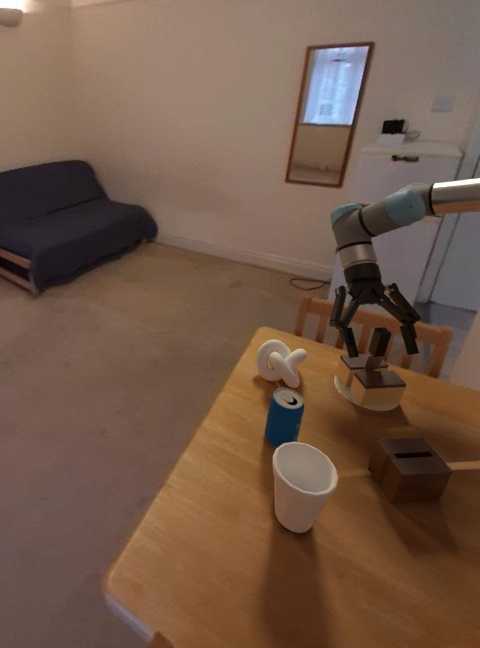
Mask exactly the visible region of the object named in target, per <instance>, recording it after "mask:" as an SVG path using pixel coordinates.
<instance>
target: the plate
mask: <svg viewBox="0 0 480 648" xmlns="http://www.w3.org/2000/svg"><path fill="white" fill-rule="evenodd" d="M333 382H334V386H335V388H336V390H337V391H338V393H339V394H341V395H342V397H344V398H345V399H346V400H347V401H349V402H351V403H352V404H353V405H354V404H355V405H356V406H359V407H360V408H361V407H362V408H364V409H367V410H372V411H380V412H386V411H391V410H394V409H395V408H397V407H398V406H399V405H400V404H390V405H373V406H360V405H359V404H358V402H357V401H356V400H355V399H354V397H353V396H352V395H351V393H350V392H349V391H350V388H351V386H350V387H345V385H344V384H343V383H342V381H341V380H340V379H339V377H338V376H337V375H336V374H335V375H334V377H333Z"/></svg>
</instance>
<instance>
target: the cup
mask: <svg viewBox="0 0 480 648" xmlns="http://www.w3.org/2000/svg"><path fill="white" fill-rule="evenodd" d="M275 448H276V447H275ZM272 472H273V476H274V479H273V480H274V514H275V516H276V518H277V521H278V522H279V523H280V524H281V525H282V526H283V527H284V528H285V529H287V530H289V531H290V532H293V533H298V534H301V533H306V532H307V531H309V530H310V529H311V528H312V526H313V525H314V524H315V522H316V520H317V519H318V517H319V515H320V514H321V513H322V510H323V509H324V508H325V506H326V504H327V502H328V501H329V500H330V498H331V497H332V496H333V495H334V493H335V491H336V489H337V487H338V483H339V474H338V471H337V467H335V465H334V463H333V462H332V460H331V459H330V457H329V456H328V455H326V454H324V452H322V451H321V450H320V449H319V448H317V447H314V446H312V445H311V444H308V443H306V442H300V441H299V442H298V441H297V442H289V443H284V444H282V445H281V446H279V447H278V448H276V449H275V450H274V453H273V455H272Z"/></svg>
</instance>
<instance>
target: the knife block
mask: <svg viewBox="0 0 480 648" xmlns="http://www.w3.org/2000/svg"><path fill="white" fill-rule="evenodd" d="M366 468H367V470H368V471H369V474H371V476H372V477H373V479H374V480H375V482H376V484H377V485H378V487H379V488H380V490H381V492H382V493H383V494H384V496H385V497H386V499H387V501H388V502H389V504H390V505H401V504H414V503H416V504H417V503H418V504H419V503H429V502H430V503H432V502H440V501H441V498H442V496H443V494H444V493H445V489H446V488H447V486H448V484H449V482H450V480H451V478H452V476H453V473H454V471H453V470H452V468H451V467H449V465H448V464H447V463H446V462H445V460H444V459H443V458H442V457H441V456H440V455H439V453H438V452H437V451H436V450H435V449H434V448H433V447H432V445H431V444H430V443H429V442H428V441H427V439H425V437H424V436H411V437H394V438H378V439H376V440H375V443H374V446H373V449H372V452H371V455H370V458H369V460H368V464H367V466H366Z"/></svg>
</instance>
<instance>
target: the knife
mask: <svg viewBox="0 0 480 648" xmlns="http://www.w3.org/2000/svg"><path fill="white" fill-rule="evenodd" d="M391 337H392V333H391V331H389V329H387V328H386V327H385V326H384V327H374V328H373V333H372V336H371V339H370V342H369V347H368V349H367V351H368V352H369V354H371V355H368V357H367V360H366V364H365V367H364V370H363V372H372V371H379V367H380V364H381V361H382V359H383V358H384V357H385V356H386V353H387V350H388V346H389V343H390V340H391Z"/></svg>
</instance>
